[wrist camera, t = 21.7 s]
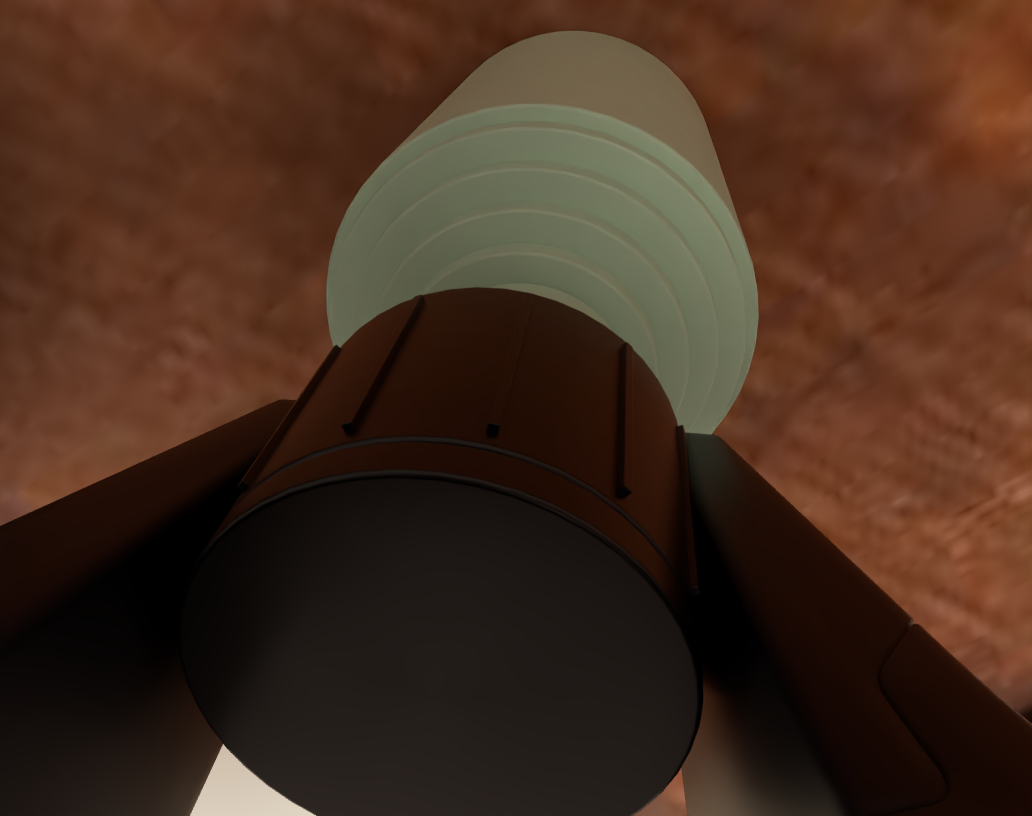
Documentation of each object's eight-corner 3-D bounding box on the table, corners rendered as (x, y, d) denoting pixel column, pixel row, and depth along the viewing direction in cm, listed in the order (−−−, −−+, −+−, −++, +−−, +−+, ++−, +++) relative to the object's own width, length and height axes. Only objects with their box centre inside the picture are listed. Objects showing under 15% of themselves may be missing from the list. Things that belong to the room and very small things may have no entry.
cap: (750, 520, 9) (798, 777, 6) (452, 645, 10) (388, 900, 8) (548, 207, 8) (503, 369, 5) (236, 400, 9) (67, 608, 6)
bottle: (757, 246, 19) (908, 660, 8) (513, 351, 21) (391, 794, 10) (643, -30, 16) (655, 73, 6) (379, 118, 18) (48, 388, 8)
